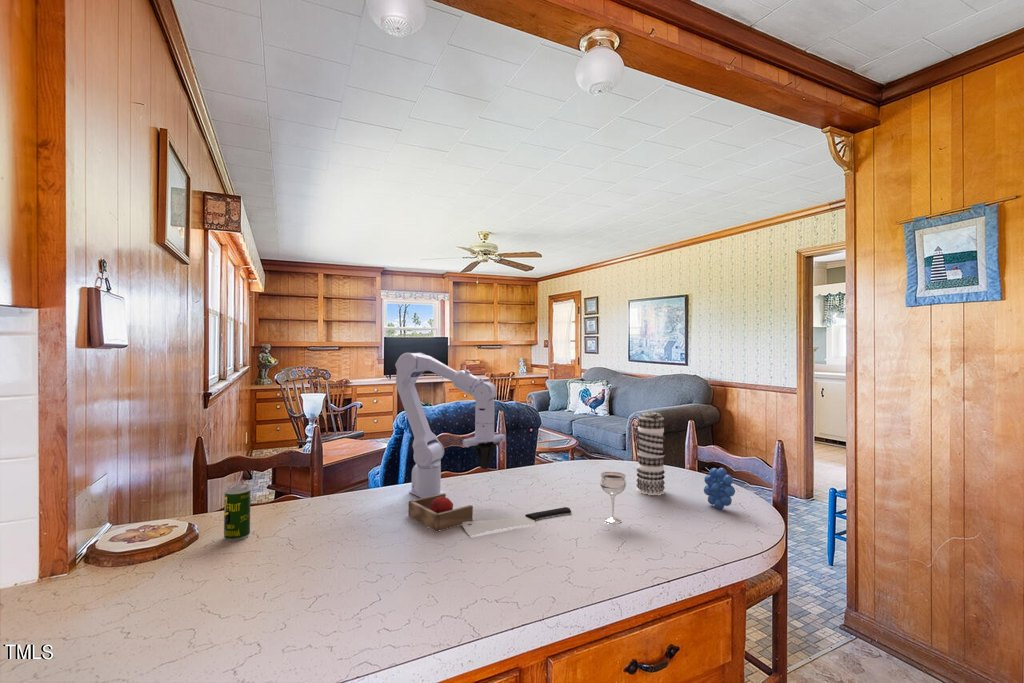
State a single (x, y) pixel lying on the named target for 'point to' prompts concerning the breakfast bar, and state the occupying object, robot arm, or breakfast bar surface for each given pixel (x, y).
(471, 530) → the kitchen cleaver
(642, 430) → the striped tall cylinder
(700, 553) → the breakfast bar surface
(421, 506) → the box
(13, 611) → the breakfast bar surface
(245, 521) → the green fruit can
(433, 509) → the onion
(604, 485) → the wineglass
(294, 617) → the breakfast bar surface
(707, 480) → the grapes
